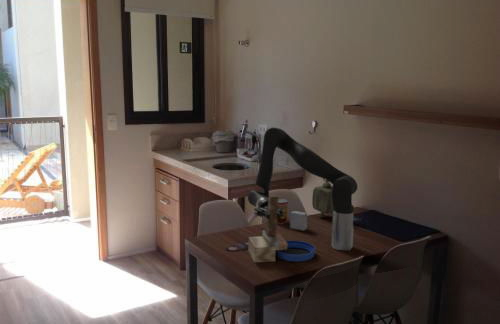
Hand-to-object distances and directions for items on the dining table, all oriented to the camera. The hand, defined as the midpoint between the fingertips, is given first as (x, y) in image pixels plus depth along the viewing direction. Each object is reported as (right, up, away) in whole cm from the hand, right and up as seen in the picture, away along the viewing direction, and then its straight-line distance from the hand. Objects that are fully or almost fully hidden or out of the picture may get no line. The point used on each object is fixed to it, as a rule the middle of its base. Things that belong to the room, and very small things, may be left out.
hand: (273, 216), depth 191 cm
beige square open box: (-3, -18, +5) cm, 19 cm away
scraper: (-1, -11, +4) cm, 12 cm away
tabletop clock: (+33, -9, +66) cm, 74 cm away
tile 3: (+2, -10, +10) cm, 14 cm away
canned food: (+6, -10, +56) cm, 57 cm away
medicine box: (+15, -12, +45) cm, 49 cm away
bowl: (+10, -18, +8) cm, 22 cm away
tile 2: (+3, -11, +5) cm, 13 cm away
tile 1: (+3, -12, +1) cm, 12 cm away
